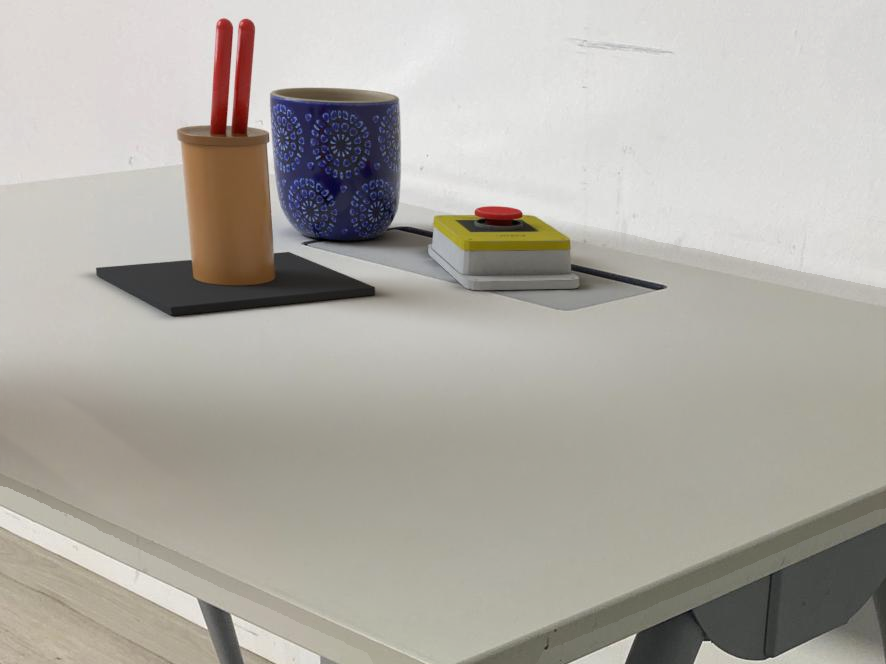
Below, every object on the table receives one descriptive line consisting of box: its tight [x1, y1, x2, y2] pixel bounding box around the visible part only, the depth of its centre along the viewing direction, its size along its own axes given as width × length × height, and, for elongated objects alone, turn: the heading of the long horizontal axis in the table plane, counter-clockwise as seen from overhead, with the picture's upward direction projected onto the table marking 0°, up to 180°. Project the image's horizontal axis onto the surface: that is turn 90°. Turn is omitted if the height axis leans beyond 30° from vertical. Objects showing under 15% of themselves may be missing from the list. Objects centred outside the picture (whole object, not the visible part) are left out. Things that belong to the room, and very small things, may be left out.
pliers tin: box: [176, 17, 275, 286], centre depth 102 cm, size 6×7×17 cm
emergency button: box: [427, 205, 580, 291], centre depth 116 cm, size 9×4×15 cm
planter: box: [269, 87, 402, 242], centre depth 124 cm, size 11×11×11 cm
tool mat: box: [95, 251, 376, 317], centre depth 107 cm, size 16×14×1 cm
